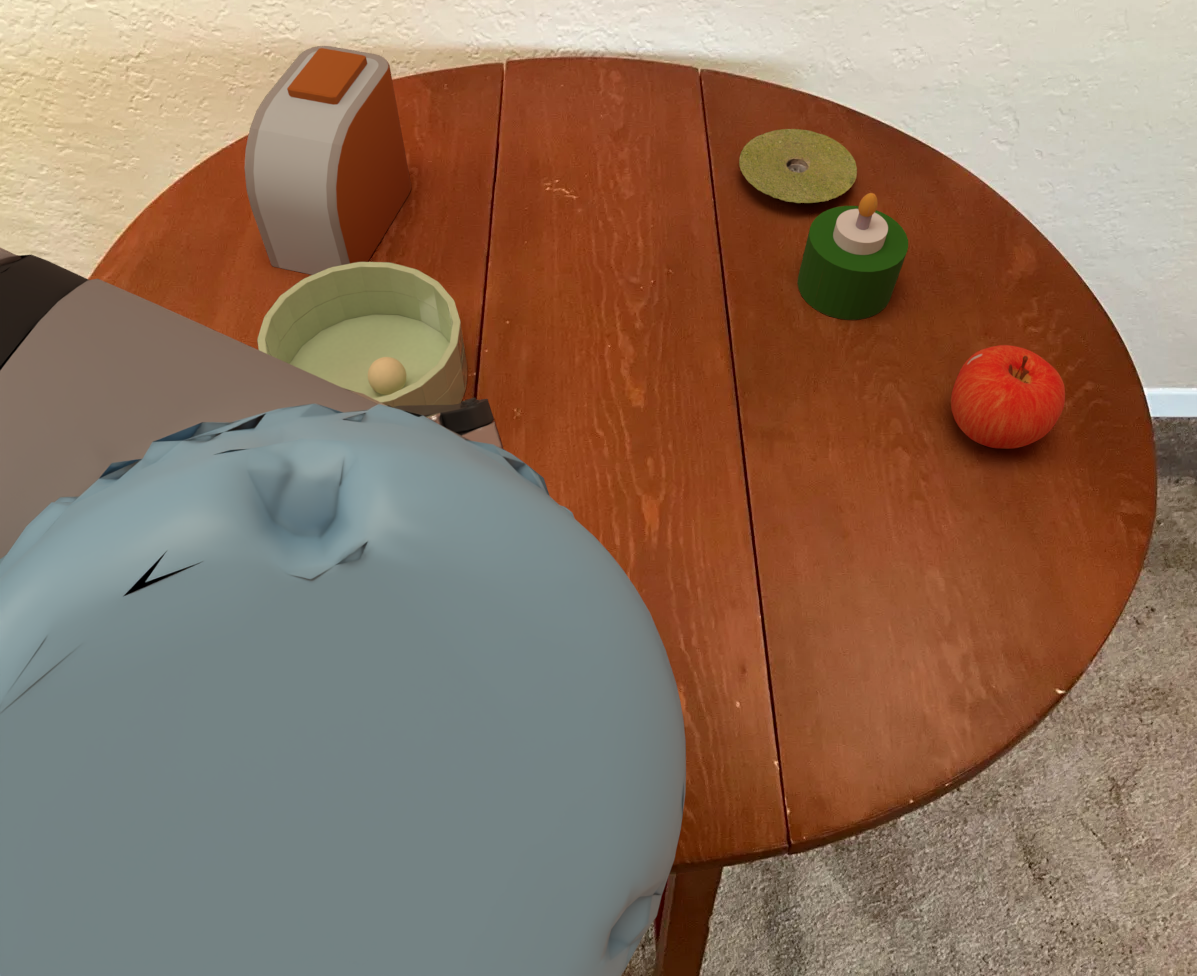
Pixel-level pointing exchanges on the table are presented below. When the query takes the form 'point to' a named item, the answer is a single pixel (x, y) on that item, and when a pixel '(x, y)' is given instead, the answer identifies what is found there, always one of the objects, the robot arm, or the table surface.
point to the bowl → (371, 331)
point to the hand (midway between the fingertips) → (297, 452)
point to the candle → (852, 260)
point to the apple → (1007, 397)
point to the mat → (798, 166)
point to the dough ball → (386, 375)
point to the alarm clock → (326, 160)
